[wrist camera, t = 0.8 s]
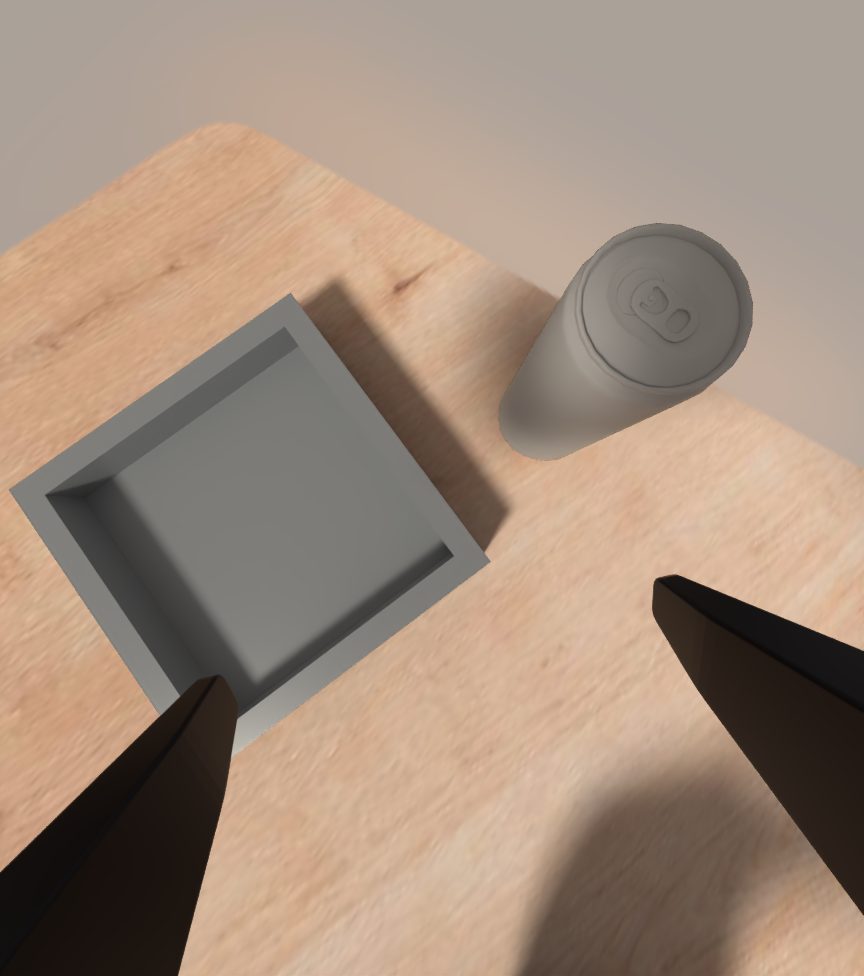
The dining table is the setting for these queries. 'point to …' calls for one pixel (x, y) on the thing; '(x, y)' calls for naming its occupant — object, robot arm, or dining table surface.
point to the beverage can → (628, 340)
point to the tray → (249, 524)
